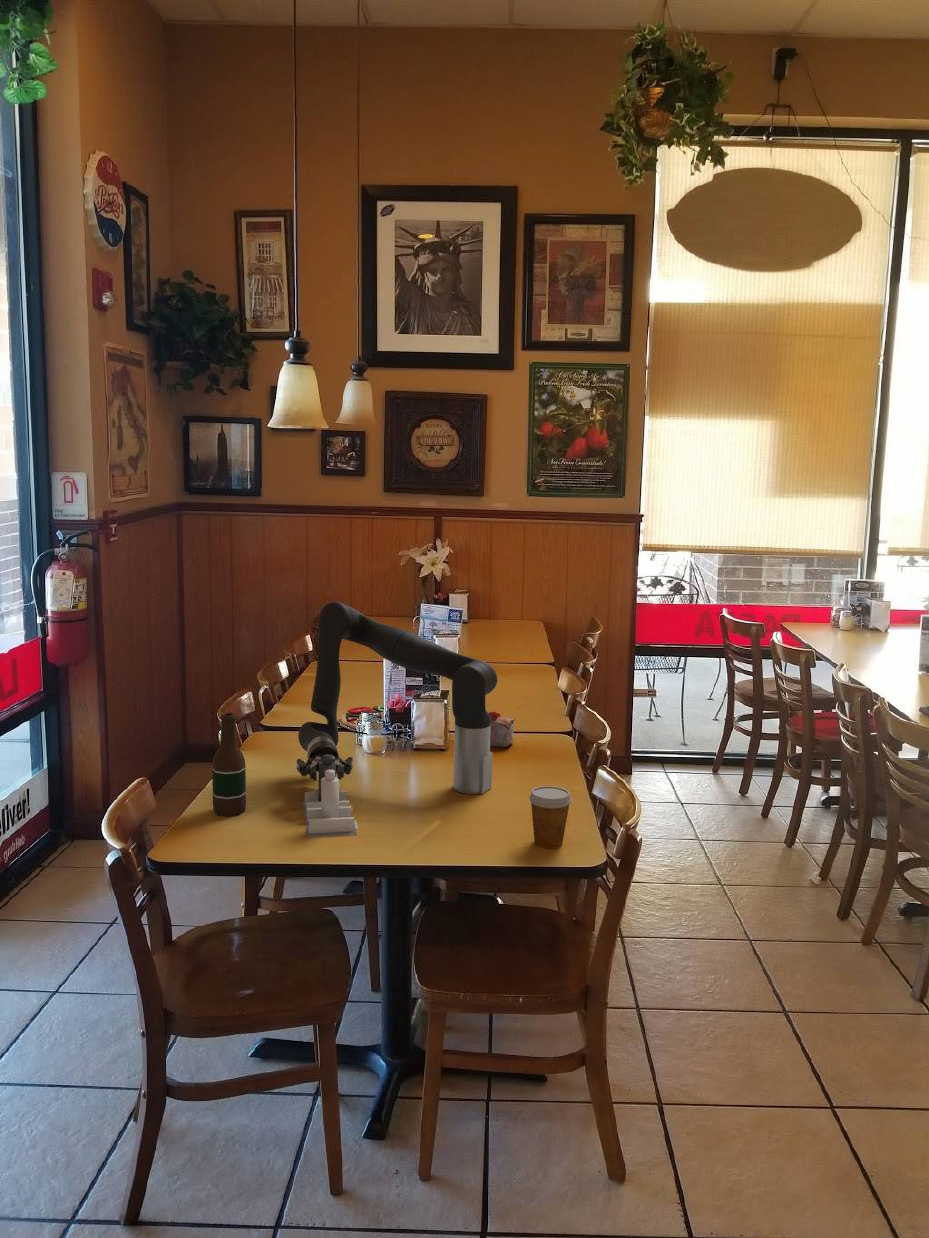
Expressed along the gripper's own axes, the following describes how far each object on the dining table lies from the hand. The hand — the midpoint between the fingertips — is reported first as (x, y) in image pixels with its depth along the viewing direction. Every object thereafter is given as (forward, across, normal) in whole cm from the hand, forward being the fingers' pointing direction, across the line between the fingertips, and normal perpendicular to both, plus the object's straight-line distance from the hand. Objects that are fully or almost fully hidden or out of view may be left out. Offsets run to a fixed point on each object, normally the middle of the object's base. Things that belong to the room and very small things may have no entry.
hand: (327, 776), depth 239 cm
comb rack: (+3, 0, +10) cm, 11 cm away
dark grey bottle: (-3, 0, +9) cm, 9 cm away
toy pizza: (-82, +23, +11) cm, 86 cm away
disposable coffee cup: (+22, +48, +11) cm, 54 cm away
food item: (-55, +53, +11) cm, 77 cm away
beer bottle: (-8, -23, +11) cm, 26 cm away
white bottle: (+8, 0, +9) cm, 12 cm away
